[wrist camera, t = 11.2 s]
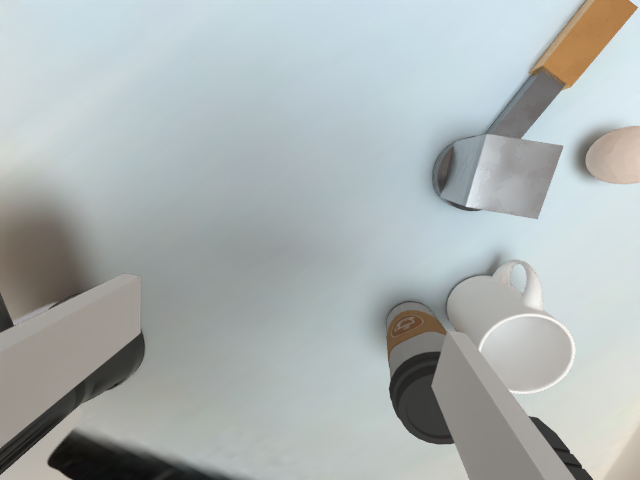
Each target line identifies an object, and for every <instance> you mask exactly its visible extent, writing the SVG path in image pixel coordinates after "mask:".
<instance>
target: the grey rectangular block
mask: <svg viewBox="0 0 640 480" xmlns="http://www.w3.org/2000/svg"><path fill="white" fill-rule="evenodd" d="M562 149H563V146H561V145H555V144H548V143H542V142H536V141H529V140H523V139H517V138H510V137H504V136H498V135H491V134H484V135H480V136H476V137H472V138H468V139H463V140H459V141H455V142H454V146H453V150H452V154H451V158H450V161H449V165H448V169H447V173H446V176H445V180H444V184H443V188H442V191H441V195H440V197H441V198H443V199H446V200H449V201H452V202H454V203H457V204H460V205H463V206H466V207H471V208H477V209H482V210H488V211H494V212H500V213H505V214H511V215H517V216H523V217H528V218H534V219H538V216H539V214H540V211H541V208H542V205H543V202H544V199H545V197H546V194H547V191H548V188H549V185H550V183H551V180H552V177H553V174H554V171H555V168H556V166H557V163H558V160H559V157H560V154H561V152H562Z"/></svg>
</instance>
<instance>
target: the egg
mask: <svg viewBox="0 0 640 480" xmlns="http://www.w3.org/2000/svg"><path fill="white" fill-rule="evenodd" d="M586 166H587V169H588V170H589V172H590V173H591V174H592V175H593V176H594V177H596V178H597V179H599V180H602V181H604V182H608V183H613V184H633V183H639V182H640V126H631V127H625V128H621V129H617V130H614V131H611V132H609V133H607V134H605V135H603V136H602V137H600V138H599V139H598V140H596V141H595V142H594V143H593V145H592V146H591V147H590V148H589V150H588V152H587V154H586Z"/></svg>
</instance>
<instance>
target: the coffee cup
mask: <svg viewBox="0 0 640 480" xmlns="http://www.w3.org/2000/svg"><path fill="white" fill-rule="evenodd" d="M386 327H387V350H388V362H389V368H390V378H391V382H390V387H389V391H390V398H391V401H392V404H393V408H394V410H395V412H396V415H397V417H398V418H399V419H400V420H401V421H402V423H403V425H404V426H405V427H406V429H407V430H408V431H409V432H410V433H411V434H413V435H414V436H415V437H417V438H418V439H421V440H423V441H426V442H428V443H434V444H453V443H454V440H453V438H452V435H451V433H450V430H449V428H448V426H447V423H446V421H445V418H444V416H443V413H442V411H441V409H440V406H439V404H438V401H437V399H436V396H435V394H434V391H433V389H432V387H431V385H432V382H433V379H434V375H435V372H436V368H437V365H438V361H439V358H440V354H441V351H442V347H443V344H444V340H445V337H446V333H447V331H446V330H445V329H444V327H443V326H442V324H441V323H440V322H439V321H438V320H437V318H436V317H435V315H434V314H433V313H432V311H431V310H430V309H429V308H427V307H426V306H425V305H422V304H420V303H415V302H407V303H403V304H400V305H398V306H397V307H395V308H394V309H393V310H392V311H391V312H390V314H389V316H388V318H387V322H386Z"/></svg>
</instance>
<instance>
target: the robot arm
mask: <svg viewBox="0 0 640 480" xmlns="http://www.w3.org/2000/svg"><path fill="white" fill-rule="evenodd" d="M143 355H144V341H143V337H142V334H141V276H136V275H131V274H125V273H123V274H121V275H119V276H117V277H115V278H113V279H111V280H109V281H107V282H105V283H103V284H101V285H98V286H96V287H94V288H92V289H90V290H88V291H86V292H84V293H82V294H77V295H73V296H71V297H69V298H67V299H64V300H62V301H60V302H58V303H56V304H55V305H53V306H52V307H50V308H49V309H48V310H47V311H45V312H43V313H41V314H38V315H36V316H34V317H32V318H30V319H28V320H26V321H24V322H22V323H20V324H18V325H15V326H14V325H13V322H12V320H11V317H10V315H9V313H8V310H7V308H6V306H5V303H4V301H3V298H2V296H1V293H0V475H1V474H2V473H3V472H4V471H5V470H6V469H8V468H9V467H10V466H11V465H12V464H13V463H14V462H15V461H17V460H18V459H19V458H20V457H21V456H22V455H23V454H25V453H26V452H27V451H28V450H29V449H30V448H31V447H33V445H35V444H36V443H37V442H38V441H39V440H40V439H42V438H43V437H44V436H45V435H46V434H47V433H48V432H49V431H51V430H52V429H53V428H54V427H55V426H56V425H57V424H59V423H60V422H61V421H62V420H63V419H64V418H65V417H66V416H67V415H69V414H70V413H71V412H72V411H73V410H74V409H76V408H77V407H78V406H79V405H80V404H82V403H84V402H86V401H88V400H90V399H92V398H94V397H96V396H98V395H100V394H101V393H103V392H105V391H107V390H110V389H113V388H115V387H117V386H119V385H120V384H122V383H123V382H124V381H126V380H127V379H128V378H129V377H130V376H131V375H132V374H133V373H134V372H135V371H136V370H137V369H138V367H139V366H140V364H141V362H142V359H143ZM431 387H432V389H433V391H434V394H435V396H436V399H437V401H438V404H439V406H440V409H441V411H442V413H443V416H444V418H445V421H446V423H447V426H448V428H449V430H450V433H451V435H452V438H453V440H454V443H455V445H456V448H457V450H458V452H459V455H460V457H461V460H462V462H463V465H464V467H465V470H466V472H467V474H468V477H469V479H470V480H593V479H592V478H591V476H590V475H589V474H588V473H587V471H586V470H585V469H582V465H581V464H580V463H579V461H578V460H577V459H576V458H575V457H574V455H573V454H570V450H569V449H568V448H567V447H566V445H565V444H564V443H563V442H562V440H561V439H560V438H559V437H558V435H557V434H556V433H555V432H554V431H552V430H551V429H550V428H549V427H548V426H547V425H545V424H544V423H543V422H542V421H541V420H540V419H538V418H536V417H530V416H528V415H527V414H526V413H525V411H524V410H523V409H522V407H521V406H520V405H519V403H518V402H517V401H516V399H515V398H514V397H513V395H512V394H511V393H510V391H509V390H508V389H507V387H506V386H505V385H504V383H503V382H502V381H501V379H500V378H499V377H498V375H497V374H496V373H495V371H494V370H493V369H492V367H491V366H490V365H489V363H488V362H487V361H486V359H485V358H484V357H483V355H482V354H481V353H480V351H479V350H478V349H477V347H476V346H475V345H474V343H473V342H472V341H471V339H470V338H469V337H468V335H467V334H466V333H461V332H456V331H450V330H447V333H446V337H445V340H444V344H443V347H442V351H441V354H440V358H439V361H438V365H437V368H436V372H435V375H434V379H433V382H432V385H431Z"/></svg>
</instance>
